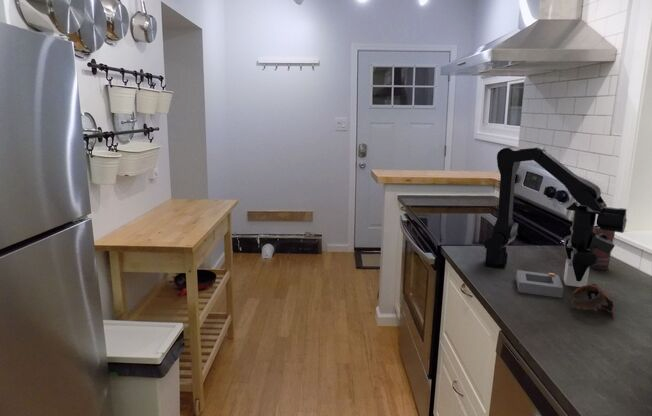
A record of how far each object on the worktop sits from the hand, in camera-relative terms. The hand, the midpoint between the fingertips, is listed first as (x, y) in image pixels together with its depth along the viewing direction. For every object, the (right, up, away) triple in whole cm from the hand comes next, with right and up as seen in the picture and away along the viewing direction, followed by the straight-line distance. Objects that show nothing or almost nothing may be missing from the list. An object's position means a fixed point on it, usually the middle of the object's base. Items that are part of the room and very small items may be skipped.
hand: (575, 275), depth 138 cm
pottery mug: (-5, -7, -18) cm, 20 cm away
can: (+16, 0, +15) cm, 22 cm away
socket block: (-13, -3, -3) cm, 14 cm away
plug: (0, -3, +1) cm, 3 cm away
